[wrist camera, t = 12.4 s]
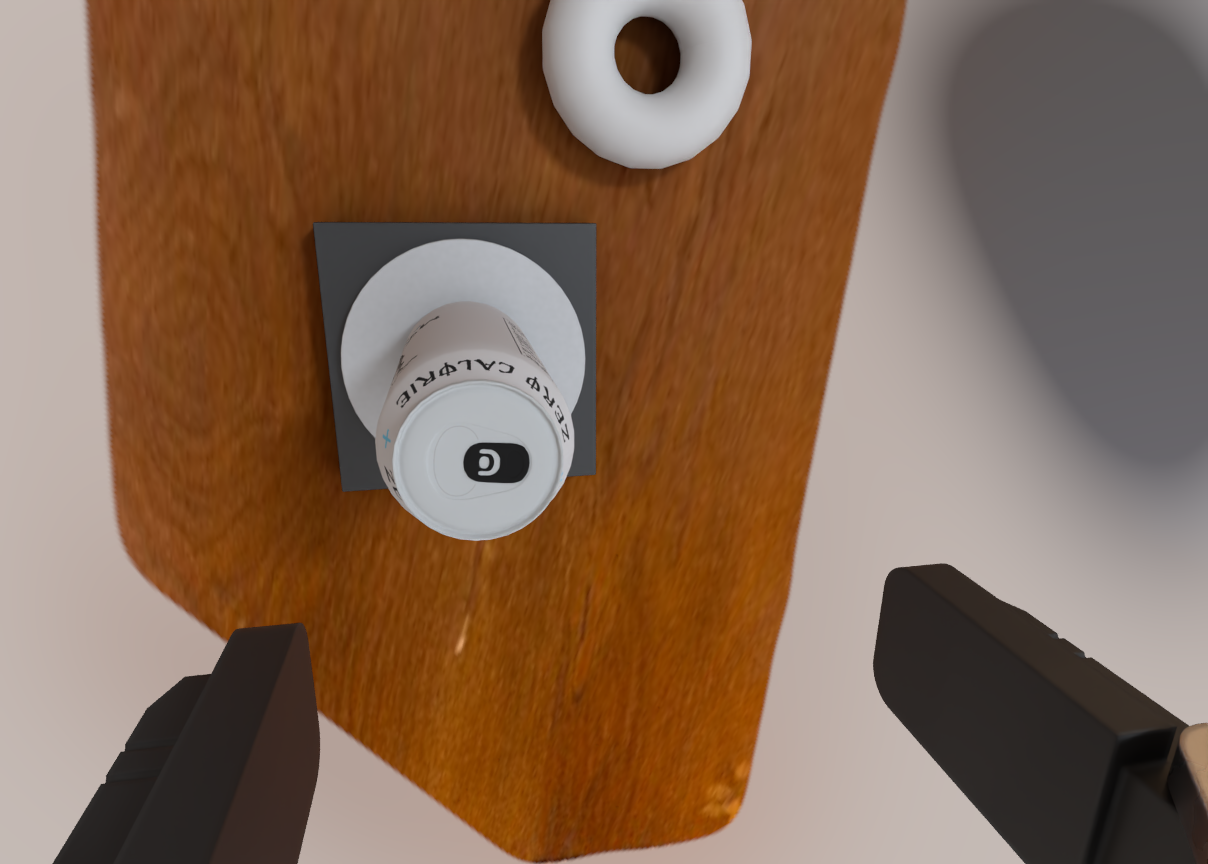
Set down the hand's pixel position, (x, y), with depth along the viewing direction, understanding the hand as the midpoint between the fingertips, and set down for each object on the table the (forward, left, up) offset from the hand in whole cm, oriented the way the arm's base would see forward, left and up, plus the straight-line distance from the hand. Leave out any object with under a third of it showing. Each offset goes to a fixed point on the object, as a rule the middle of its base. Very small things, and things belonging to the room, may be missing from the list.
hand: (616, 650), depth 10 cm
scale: (+1, -2, -29) cm, 29 cm away
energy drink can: (+1, -2, -26) cm, 26 cm away
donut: (-13, +7, -29) cm, 33 cm away
